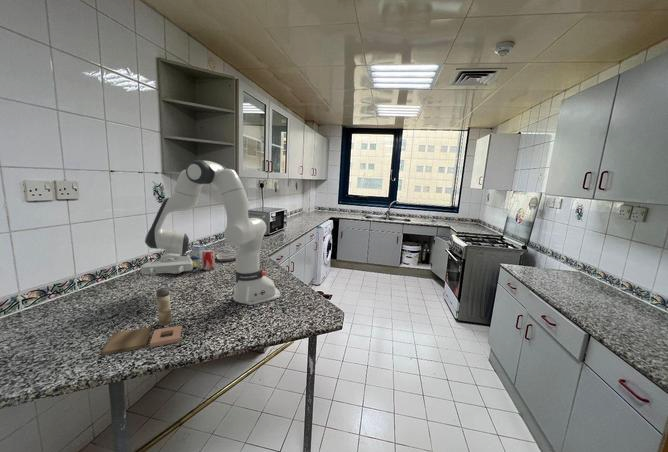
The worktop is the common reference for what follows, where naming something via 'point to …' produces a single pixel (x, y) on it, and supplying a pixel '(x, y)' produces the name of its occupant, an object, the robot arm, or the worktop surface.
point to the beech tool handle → (164, 306)
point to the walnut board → (127, 340)
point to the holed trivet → (166, 336)
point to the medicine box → (197, 251)
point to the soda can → (208, 259)
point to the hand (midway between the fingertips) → (165, 272)
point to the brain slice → (226, 256)
